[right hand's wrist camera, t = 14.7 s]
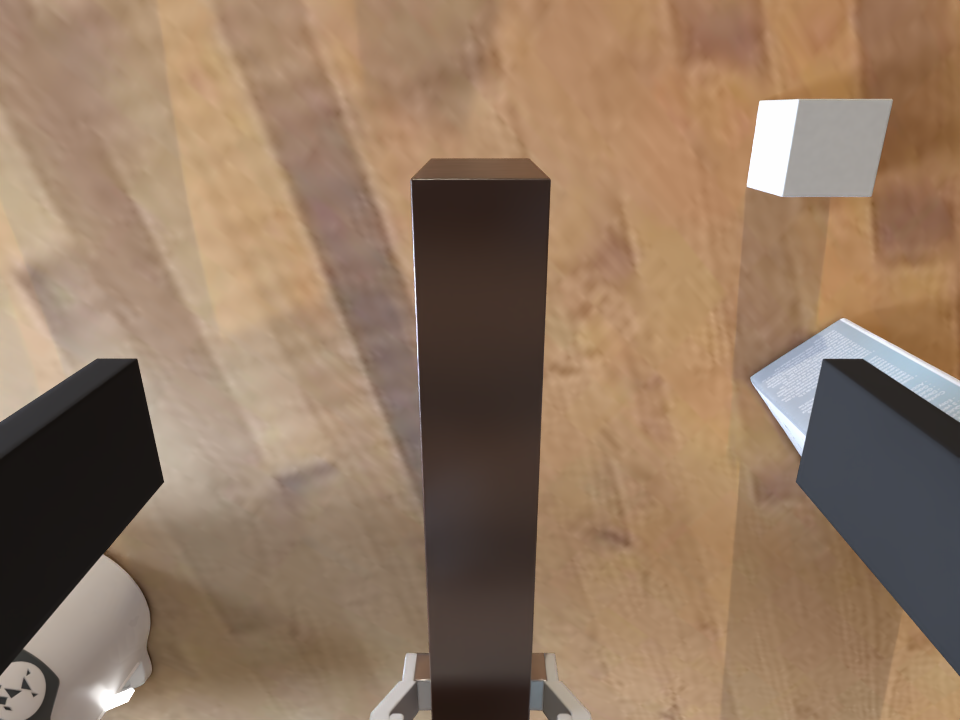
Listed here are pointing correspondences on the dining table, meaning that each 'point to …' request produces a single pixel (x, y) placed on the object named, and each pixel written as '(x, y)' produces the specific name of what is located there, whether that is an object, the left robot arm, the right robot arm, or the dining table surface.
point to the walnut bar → (480, 423)
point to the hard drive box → (798, 370)
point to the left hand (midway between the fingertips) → (481, 662)
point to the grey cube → (818, 146)
